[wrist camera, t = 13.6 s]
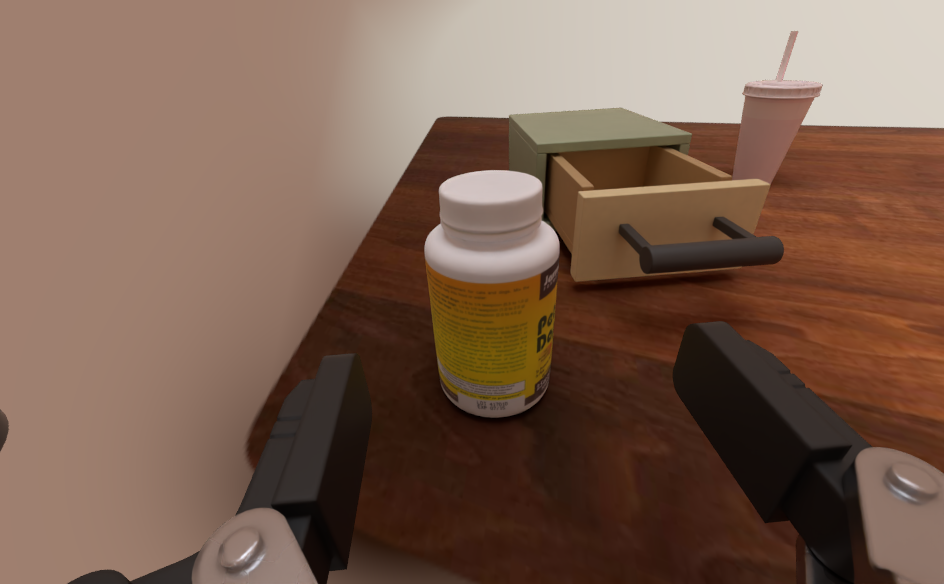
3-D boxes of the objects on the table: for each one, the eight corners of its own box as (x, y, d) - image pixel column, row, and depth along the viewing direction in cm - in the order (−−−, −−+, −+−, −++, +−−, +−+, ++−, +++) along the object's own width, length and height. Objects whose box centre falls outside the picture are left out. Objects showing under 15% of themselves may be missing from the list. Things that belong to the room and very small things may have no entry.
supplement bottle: (551, 428, 18) (570, 210, 13) (430, 420, 19) (398, 210, 13) (548, 347, 23) (560, 162, 17) (450, 343, 23) (433, 164, 18)
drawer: (797, 310, 23) (841, 214, 20) (600, 327, 23) (615, 231, 19) (651, 201, 39) (663, 137, 36) (533, 209, 38) (535, 146, 35)
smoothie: (750, 170, 48) (795, 30, 41) (801, 185, 43) (863, 28, 35) (705, 176, 47) (743, 33, 39) (751, 193, 41) (805, 32, 34)
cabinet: (672, 222, 36) (692, 133, 32) (533, 232, 36) (537, 143, 32) (612, 176, 49) (621, 107, 45) (508, 183, 48) (509, 114, 44)
